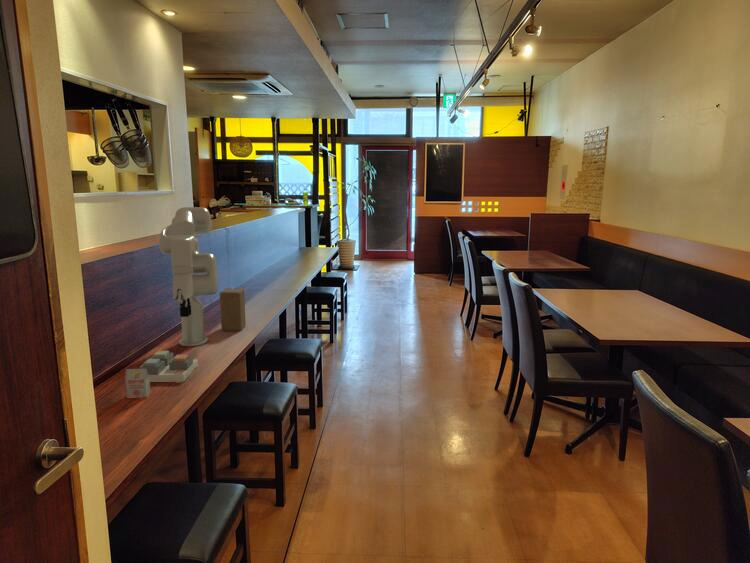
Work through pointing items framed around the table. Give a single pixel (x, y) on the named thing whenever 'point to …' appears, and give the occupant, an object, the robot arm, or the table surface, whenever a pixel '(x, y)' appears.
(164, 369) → the button panel
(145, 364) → the slate button
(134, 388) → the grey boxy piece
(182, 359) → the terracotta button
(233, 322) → the wooden block
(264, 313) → the table surface
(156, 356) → the sage button
